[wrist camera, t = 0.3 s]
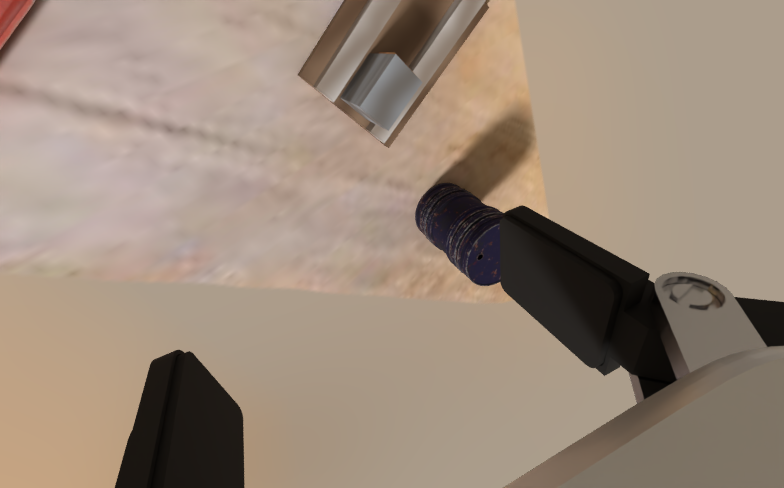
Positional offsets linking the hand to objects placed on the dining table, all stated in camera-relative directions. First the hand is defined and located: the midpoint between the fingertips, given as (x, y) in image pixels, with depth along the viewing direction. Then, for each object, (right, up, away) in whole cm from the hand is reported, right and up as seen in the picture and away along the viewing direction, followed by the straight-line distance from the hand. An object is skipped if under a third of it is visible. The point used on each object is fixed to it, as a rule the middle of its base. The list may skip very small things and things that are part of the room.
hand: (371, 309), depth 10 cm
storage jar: (+9, +8, +45) cm, 47 cm away
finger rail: (+1, +27, +30) cm, 40 cm away
